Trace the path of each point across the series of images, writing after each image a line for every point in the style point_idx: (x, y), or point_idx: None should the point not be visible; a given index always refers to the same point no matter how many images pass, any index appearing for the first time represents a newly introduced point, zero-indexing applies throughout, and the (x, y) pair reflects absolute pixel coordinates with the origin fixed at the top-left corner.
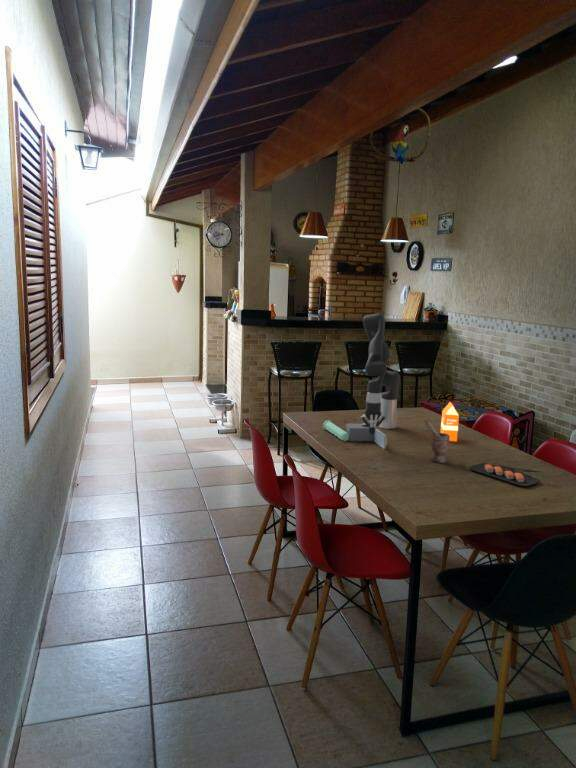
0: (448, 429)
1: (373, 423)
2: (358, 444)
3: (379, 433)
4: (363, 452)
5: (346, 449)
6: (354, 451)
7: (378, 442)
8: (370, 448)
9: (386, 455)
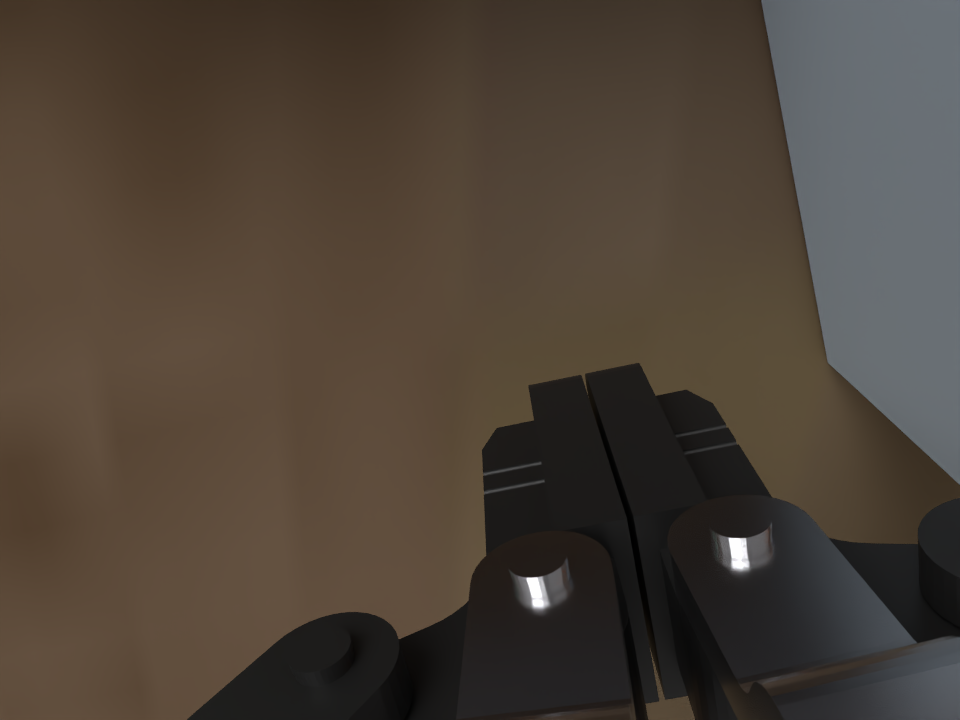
0: None
1: (772, 655)
2: (225, 73)
3: (938, 59)
4: None
5: (8, 540)
6: (191, 626)
7: (787, 16)
8: (526, 356)
9: None
